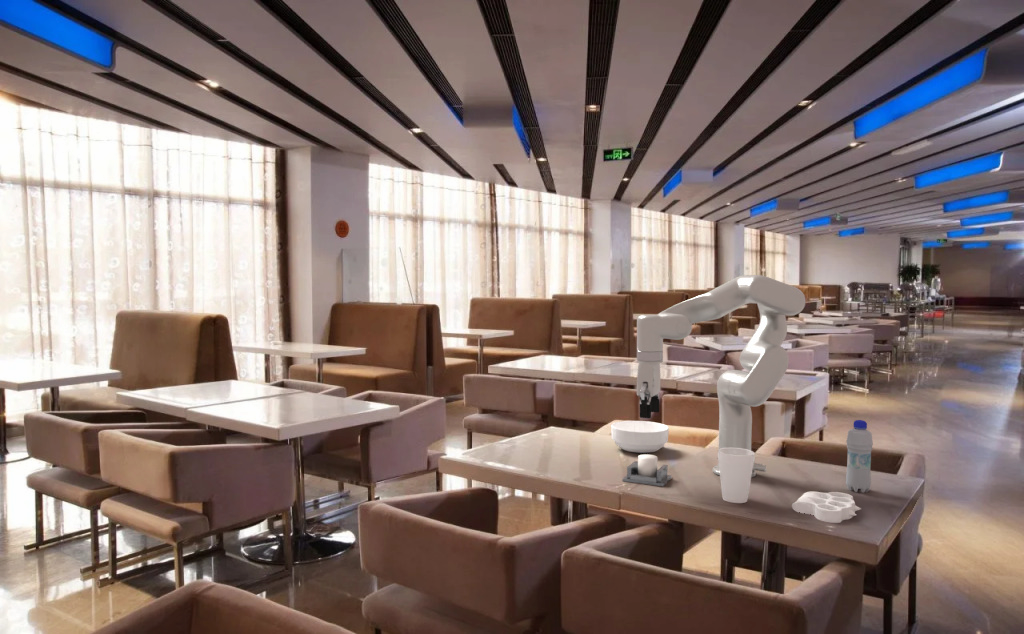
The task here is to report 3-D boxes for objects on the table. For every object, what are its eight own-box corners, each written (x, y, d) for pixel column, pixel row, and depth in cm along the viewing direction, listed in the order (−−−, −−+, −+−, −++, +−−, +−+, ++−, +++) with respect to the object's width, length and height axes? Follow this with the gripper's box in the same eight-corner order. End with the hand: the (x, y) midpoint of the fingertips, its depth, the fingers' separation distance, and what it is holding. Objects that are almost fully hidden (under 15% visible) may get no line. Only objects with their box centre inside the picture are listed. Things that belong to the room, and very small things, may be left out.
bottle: (848, 485, 203) (850, 416, 202) (873, 489, 198) (876, 420, 197) (842, 490, 197) (844, 420, 196) (868, 495, 193) (870, 423, 192)
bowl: (638, 441, 257) (638, 418, 257) (680, 452, 241) (680, 427, 241) (599, 448, 246) (599, 424, 245) (640, 460, 230) (641, 434, 229)
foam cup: (731, 492, 195) (732, 446, 194) (760, 500, 187) (761, 452, 187) (709, 498, 189) (710, 450, 189) (738, 507, 182) (740, 457, 181)
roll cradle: (671, 477, 209) (671, 464, 208) (663, 486, 200) (663, 472, 199) (632, 472, 214) (632, 459, 214) (622, 481, 205) (622, 467, 205)
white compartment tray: (806, 498, 191) (865, 509, 182) (788, 516, 177) (851, 528, 168) (807, 486, 191) (866, 496, 182) (788, 502, 176) (852, 514, 168)
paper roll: (659, 475, 208) (659, 455, 208) (654, 480, 203) (654, 460, 203) (640, 473, 210) (641, 453, 210) (635, 477, 205) (635, 457, 205)
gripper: (644, 353, 214) (644, 409, 215) (629, 359, 199) (628, 419, 200) (669, 354, 211) (669, 410, 212) (655, 360, 196) (655, 421, 197)
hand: (649, 414), depth 206 cm, fingers open, 9 cm apart
